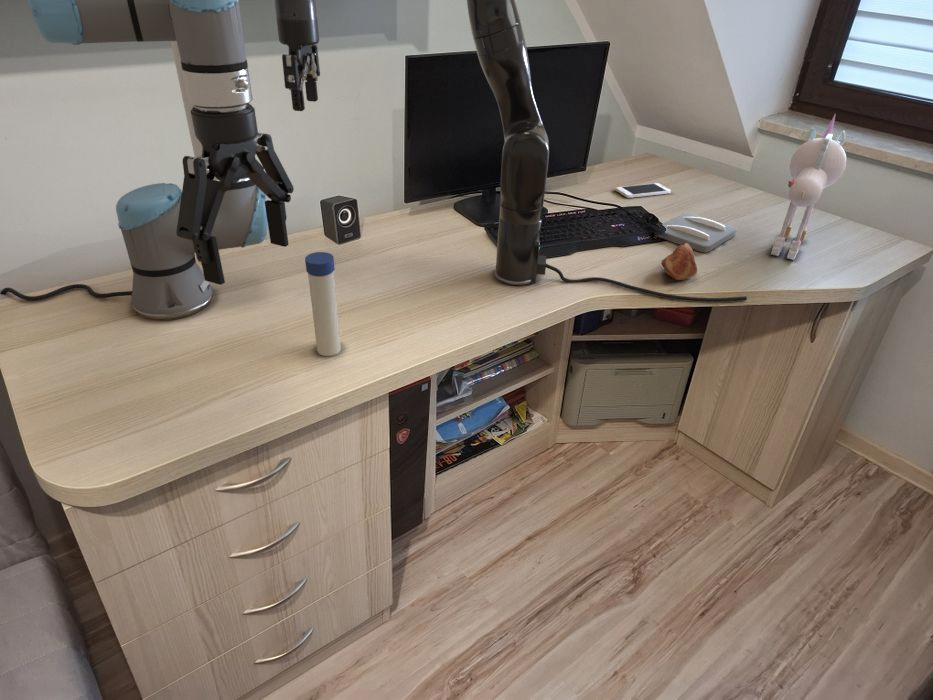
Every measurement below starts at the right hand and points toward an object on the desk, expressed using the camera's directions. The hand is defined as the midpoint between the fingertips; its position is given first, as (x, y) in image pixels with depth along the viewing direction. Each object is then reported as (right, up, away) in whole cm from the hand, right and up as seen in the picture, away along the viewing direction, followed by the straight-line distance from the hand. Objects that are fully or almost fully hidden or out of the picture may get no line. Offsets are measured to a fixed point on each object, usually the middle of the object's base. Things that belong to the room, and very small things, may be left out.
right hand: (306, 105), depth 129 cm
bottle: (+7, -49, -11) cm, 51 cm away
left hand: (+2, -37, -39) cm, 53 cm away
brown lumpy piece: (+81, -32, +19) cm, 89 cm away
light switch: (+93, -19, +39) cm, 102 cm away
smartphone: (+86, -1, +66) cm, 108 cm away
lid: (+8, -34, -21) cm, 41 cm away
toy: (+118, -20, +39) cm, 126 cm away
